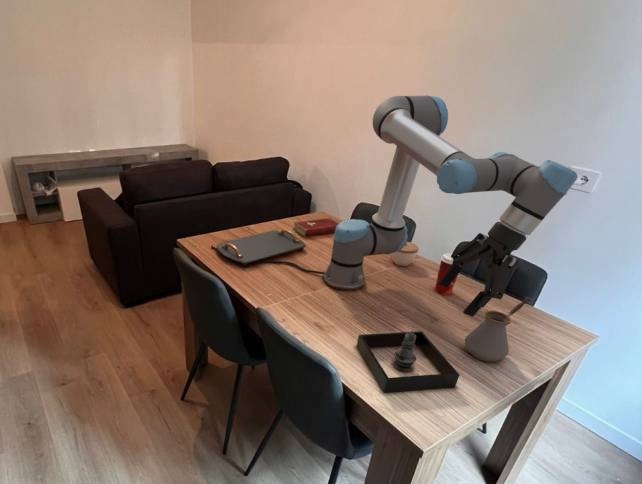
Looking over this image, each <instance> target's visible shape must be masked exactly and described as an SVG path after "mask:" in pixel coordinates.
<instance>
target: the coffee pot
mask: <svg viewBox="0 0 642 484" xmlns="http://www.w3.org/2000/svg"><path fill="white" fill-rule="evenodd" d="M530 300H531V301H530ZM533 302H534V299H533V298H531V296H525V298H524V299H522V301H521V302H520V303H518V304H516V305H515V306H514V307H513V308H512V309H511V311H510V312H508V313H507V314H506V313H504V312H501V311H498V310H486V311H485V312H484V317H485V318H484V319H483V321H482V322H481V323H479V324H478V325H477V326H476V327H475V328H474V329H473V330H472V331H471V332H469V333H468V334H467V335H466V336H465V337H464V347H465V348H466V350H467V351H468V352H469V354H470V355H471V356H472V357H474V358H476V359H477V360H481V361H483V362H488V363H491V362H492V363H493V362H497V361H502V360H504V359H505V358H506V357H507V356H508V355H509V353H510V350H509V341H508V334H507V326H508V325H511V323H512V322H511V321H512V319H511V316H513V315H514V314H515V313H517V312H518V311H519V310H520V309H522V307H523V306H524V305H526V304H527V303H528V304H529V303H530V304H533Z"/></svg>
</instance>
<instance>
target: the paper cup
mask: <svg viewBox="0 0 642 484" xmlns="http://www.w3.org/2000/svg"><path fill="white" fill-rule="evenodd" d="M453 253H454V252H446V253H443V254H442V256H441V257H440V263H439V268H438V273H437V277H436V282H435V286H434V291H435V293H436V294H439V295H442V296H443V295H444V296H448V295H451V293H452V291H453V289H454V286H455V284H456V282H457V279H458V276H459V274H460V272H459V273H458V275H457V276H456V277H455V278H454V280H453V281H452V282H451V283H450V285H449V286H448V287H447V288H446V287H444V286H441V285H439V284H438V283H439V281H440V280H441V279H442V278H443V276H444V275H445V274H446V271H447V270H448V268H449V267H450V266H451V264H452V263H453V258H451V255H452V254H453ZM458 256H459V255H458ZM460 267H462V266H460Z"/></svg>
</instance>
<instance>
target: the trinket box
mask: <svg viewBox="0 0 642 484" xmlns="http://www.w3.org/2000/svg"><path fill="white" fill-rule="evenodd" d="M419 249H420V248H419V246H418V245H417V244H416V243H413V242H410V241H406V244H405V246H404V247H403V248H402V249H401V250H400V251H398V252H395V253H391V254H390V257H391V261H392V262H393V263H394V264H395V265H397V266H400V267H406V266H408V265H409V264H412V263H413V262H414V260H415V259H416V257H417V254H418V251H419Z"/></svg>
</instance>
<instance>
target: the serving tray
mask: <svg viewBox="0 0 642 484" xmlns="http://www.w3.org/2000/svg"><path fill="white" fill-rule="evenodd" d="M306 247H307V246H306V244H305V243H304V241H303V240H302V239H300V238H299V237H298V236H297V235H296V233H294V232H293V231H291V230H289V229H285V228H284V229H282V230H269V231H265V232H261V233H256V234H252V235H247V236H243V237H240V238H235V239H231V240H228V241H222V242H219V243H217V244H216V248H217V249H218V250H219V251H218V250H217V251H218V252H219V253H220V254H222V255H223V256H224V257H226V258H228V259H230V260H232V261H235V262H238V263H241V266H242V268H247V266H248V264H250V263H253V262H258V261H257V260H261V259H263V260H266V259H268V258H270V257H276V256H279V255H281V254H286V253H290V252H292V251H296V250H299V251H300V252H303V251H304V249H305V248H306Z"/></svg>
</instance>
